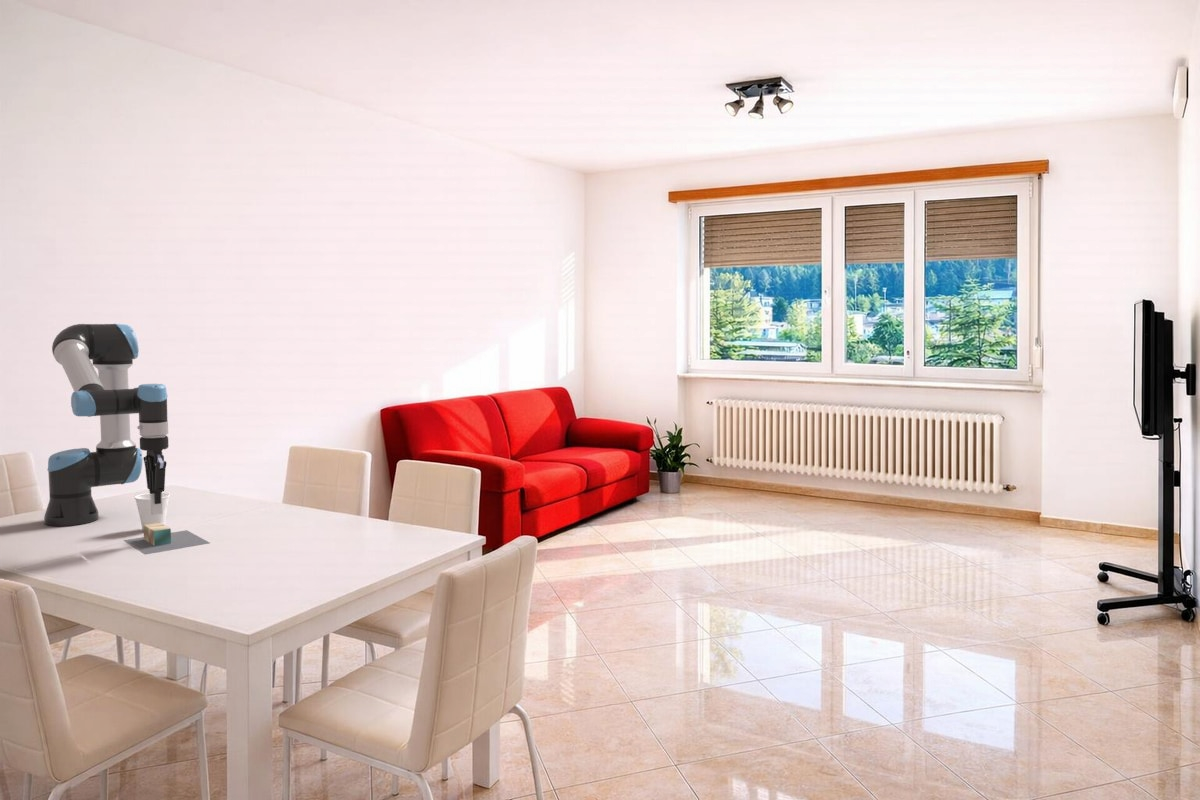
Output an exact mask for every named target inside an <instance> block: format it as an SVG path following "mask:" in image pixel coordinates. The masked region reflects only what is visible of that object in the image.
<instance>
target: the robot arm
mask: <svg viewBox="0 0 1200 800" xmlns="http://www.w3.org/2000/svg"><path fill="white" fill-rule="evenodd" d="M133 329H134V328H132V327H131V326H130V325H128V324H120V323H104V324H102V323H95V324H94V323H78V324H73V325H70V326H68V327H67V326H66V328H64V329H62V330H61V331H60V332H59V333H58V334H57V335H56V337H55V338H54V340H53V342H52V346H51V352H52V355H53V358H54V360H55V361H56V362H57V363H58V364H59V365H61V366H62V369H63V370H64V373H65V375H66V376H67V379H68V381H69V383H70V385H71V387H72V389H73V392H72V394H71V397H70V407H71V411H72V413H73V415H74V416H76V417H88V418H91V417H98V416H99V420H100V421H99V422H100V423H99V424H100V441H99V442H98V443H97V444H96V445H95V450H96V451H93V452H92V451H90V449H89V448H87V447H86V448H85V447H80V448H72V449H65V450H61V451H58V452H55V453H53V454H51V455H50V456H49V457H48V459H47V472H48V474H47V475H48V489H49V490H48V491H49V501H48V504H47V507H46V510H45V512H44V517H43V520H44V522H43V523H44V525H47V526H53V527H68V526H76V525H77V526H78V525H83V524H87V523H92V522H95V521H97V520H99V511H98V508H97V505H96V503H95V501H94V499H93V496H92V488H95V487H97V488H98V487H105V486H113V485H125V484H130V483H134V482H136V481H137V480H139V478H140V476H141V473H142V469H143V463H144V468H145V469H144V470H145V478H146V479H145V480H146V487H147V490H148V491H149V493H150V500H151V514H152V515H156V514H162V493H163V492H165V487H166V486H165V485H166V467H167V463H168V462H167V461H166V460H165V456H164V454H163V450H167V449H168V448H169V436H168V434H169V421H168V394H167V393H168V392H167V387H166V385H165V384H163V383H142V384H140V385H138V387H134V388H129V373H128V372H129V368H131V367H132V366H133V364H134V363H133V360H135V359H137V358H138V357H139V342H138V339H137V336H136V333H135V331H134V330H133ZM91 360H92V361H91ZM95 368H96V369H97V371H98V373H97V371H96V369H95ZM134 414H138V423H139V424H138V426H137V427H136V428H137V429H138V430H139V435H140V438H139V448H138V447H137V445H136V443H135V442H134V441H133V440H132V439H131V423H130V422H131V421H130V415H134ZM142 451H146V455H145V456H143V453H142Z"/></svg>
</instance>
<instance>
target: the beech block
mask: <svg viewBox="0 0 1200 800" xmlns="http://www.w3.org/2000/svg"><path fill="white" fill-rule="evenodd" d="M143 528H144V530H143V537H144V540H146V541H147V542H149V543H151V544H152V545H154V546H158V545H164V544H170V543H171V533H172V529H171V527H168V526H167V525H166V524H165V525H163V524H161V523H160V522H158V523H152V524H145V525H143Z"/></svg>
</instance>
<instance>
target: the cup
mask: <svg viewBox="0 0 1200 800" xmlns="http://www.w3.org/2000/svg"><path fill="white" fill-rule="evenodd" d="M170 495H171V494H170V493H167V492H162V514H156V515H152V514H151V500H150V492H149V493H148V492H147V493H142V494H138V495H135V496H134V499H135V502H136V507H137V511H138V515H139V519H140V524H141V528H142V531H144V528H143V525H145V524H152V523H158V522H160V523H161V524H163V525H165V526H166V518H167V511H168V505H169V499H170Z"/></svg>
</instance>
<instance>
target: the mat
mask: <svg viewBox="0 0 1200 800" xmlns="http://www.w3.org/2000/svg"><path fill="white" fill-rule="evenodd" d="M123 541H124V542H125V543H127V544H129V545H130V546H132V547H133V548H135V549H136V550H138V551H139V552H140V553H142V554H144V555H151V554H156V553H157V554H158V553H162V552H163V553H164V552H168V551H173V550H178V549H185V548H190V547H196V546H202V545H208V544H209V545H210V544H211V542H209V541H208V540H206V539H204V538H202V537H200V536H199V535H197V534H195V533H193V532H192V531H189V530H188V529H185V530H179V531H173V532H172V531H171V543H170V544H164V545H158V546H154V545H152V544H151V543H149V542H147V541H146V540H144V536H142V537H136V538H129V539H124V540H123Z"/></svg>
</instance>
